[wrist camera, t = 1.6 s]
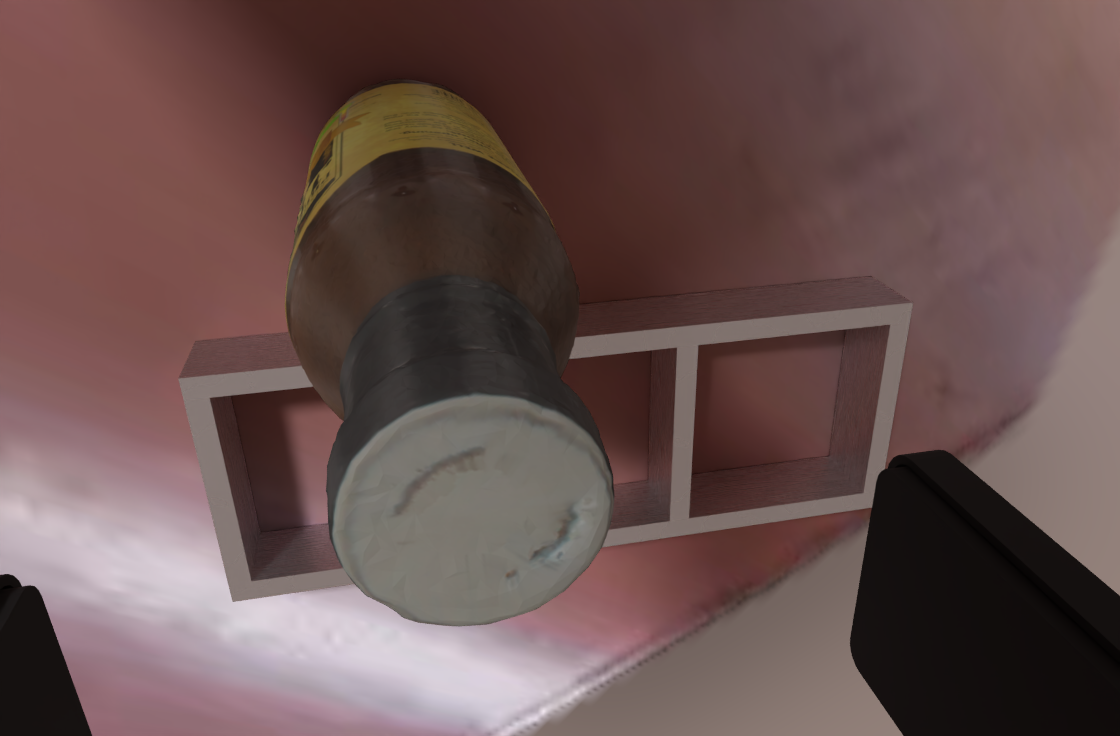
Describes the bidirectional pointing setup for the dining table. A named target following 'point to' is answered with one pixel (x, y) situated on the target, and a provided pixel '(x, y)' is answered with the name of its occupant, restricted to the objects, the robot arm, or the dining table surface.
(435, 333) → the sauce bottle
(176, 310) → the dining table surface
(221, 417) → the rack with square compartments
